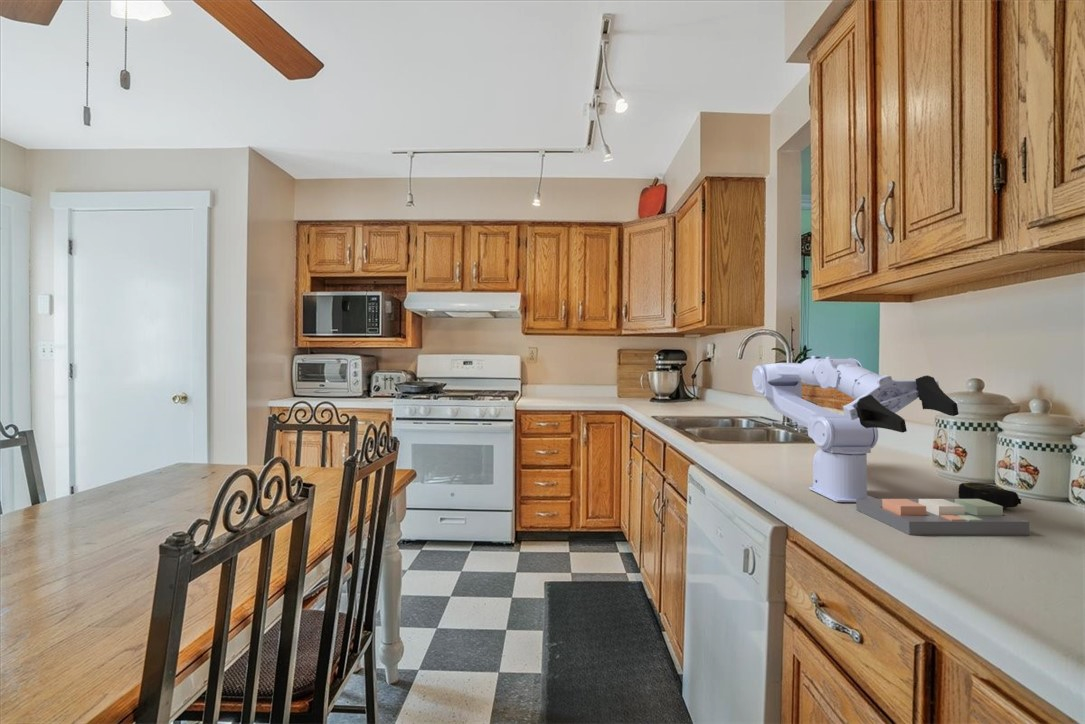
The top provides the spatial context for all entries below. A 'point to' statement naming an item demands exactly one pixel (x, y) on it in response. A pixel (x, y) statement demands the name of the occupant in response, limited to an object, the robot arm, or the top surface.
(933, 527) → the keypad
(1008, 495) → the tape measure
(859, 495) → the robot arm
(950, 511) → the cream key
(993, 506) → the sage key
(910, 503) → the terracotta key
